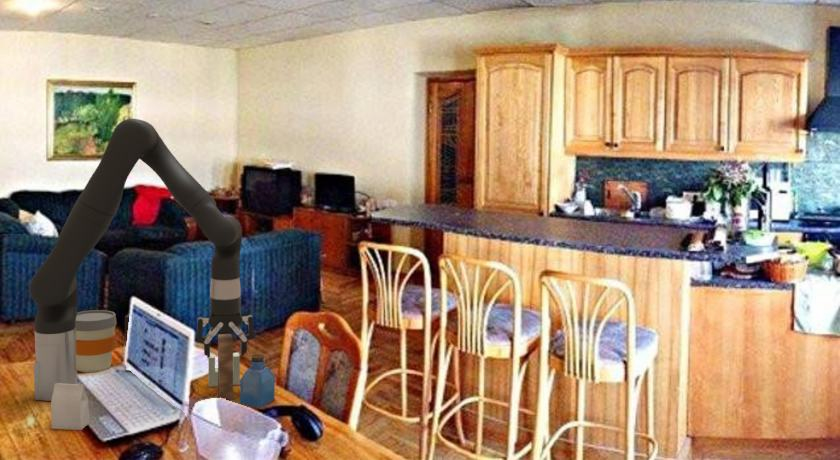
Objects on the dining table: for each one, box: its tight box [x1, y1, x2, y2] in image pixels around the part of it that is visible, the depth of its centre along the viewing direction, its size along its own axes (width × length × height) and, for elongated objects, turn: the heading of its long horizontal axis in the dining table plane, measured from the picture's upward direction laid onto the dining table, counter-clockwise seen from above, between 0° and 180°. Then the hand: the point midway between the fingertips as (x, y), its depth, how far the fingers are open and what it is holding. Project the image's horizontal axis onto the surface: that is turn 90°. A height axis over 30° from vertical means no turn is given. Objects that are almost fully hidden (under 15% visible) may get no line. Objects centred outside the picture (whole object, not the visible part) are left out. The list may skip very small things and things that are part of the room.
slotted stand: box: [207, 352, 241, 388], centre depth 196 cm, size 8×3×8 cm, turn 108°
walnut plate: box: [217, 333, 234, 400], centre depth 188 cm, size 3×8×15 cm, turn 18°
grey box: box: [50, 383, 90, 431], centre depth 165 cm, size 4×7×10 cm, turn 88°
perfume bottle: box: [239, 353, 276, 408], centre depth 184 cm, size 6×6×12 cm
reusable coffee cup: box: [75, 309, 118, 373], centre depth 204 cm, size 13×13×15 cm
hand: (225, 355), depth 187 cm, fingers open, 8 cm apart
